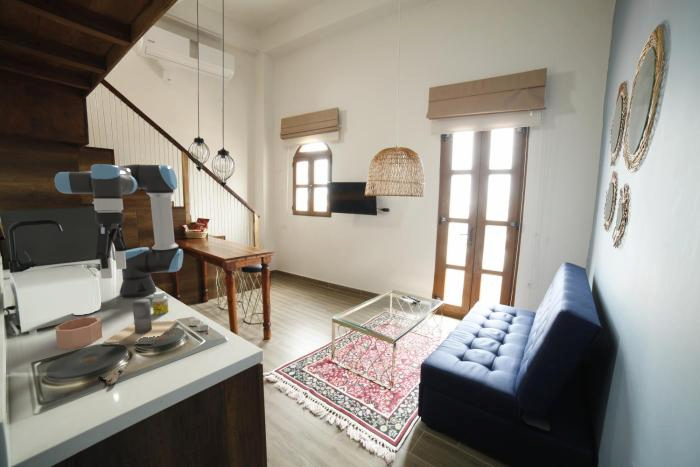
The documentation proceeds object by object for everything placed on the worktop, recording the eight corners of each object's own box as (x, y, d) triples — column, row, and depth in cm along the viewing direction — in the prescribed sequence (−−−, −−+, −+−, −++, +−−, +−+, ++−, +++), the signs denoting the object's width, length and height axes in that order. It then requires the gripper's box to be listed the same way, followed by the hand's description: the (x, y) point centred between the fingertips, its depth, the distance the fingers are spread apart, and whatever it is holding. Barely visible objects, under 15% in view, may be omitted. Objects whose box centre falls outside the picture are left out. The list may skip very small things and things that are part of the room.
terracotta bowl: (78, 335, 107) (75, 316, 106) (109, 335, 107) (107, 316, 106) (48, 351, 96) (45, 331, 95) (83, 351, 96) (81, 330, 95)
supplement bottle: (171, 312, 128) (169, 290, 127) (162, 317, 123) (161, 295, 122) (159, 311, 128) (157, 290, 127) (150, 316, 123) (148, 294, 122)
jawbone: (86, 386, 80) (85, 379, 80) (152, 349, 100) (151, 343, 100) (112, 389, 78) (111, 382, 78) (174, 351, 98) (174, 345, 97)
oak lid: (136, 323, 114) (133, 293, 113) (178, 323, 115) (176, 293, 114) (103, 344, 99) (100, 310, 97) (152, 344, 99) (150, 309, 98)
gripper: (109, 210, 110) (114, 266, 112) (77, 213, 87) (84, 283, 89) (133, 210, 112) (138, 264, 115) (108, 213, 89) (114, 281, 92)
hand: (114, 273), depth 102 cm, fingers open, 13 cm apart
